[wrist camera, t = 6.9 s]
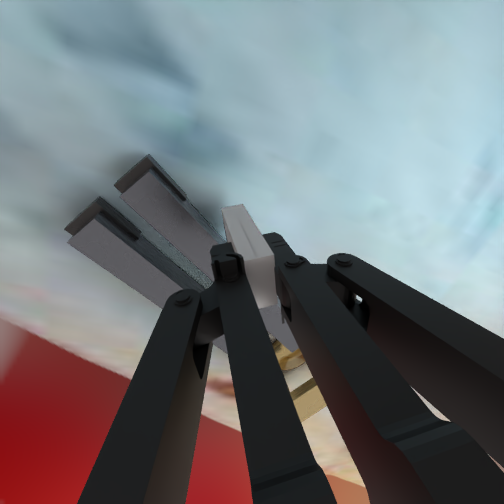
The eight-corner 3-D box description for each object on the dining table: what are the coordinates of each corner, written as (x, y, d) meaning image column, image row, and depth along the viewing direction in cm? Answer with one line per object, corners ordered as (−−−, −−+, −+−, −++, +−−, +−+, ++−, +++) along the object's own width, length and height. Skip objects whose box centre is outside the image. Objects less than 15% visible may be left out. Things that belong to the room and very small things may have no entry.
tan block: (343, 349, 28) (364, 381, 24) (282, 390, 29) (295, 426, 25) (327, 331, 26) (348, 363, 22) (262, 376, 27) (273, 414, 23)
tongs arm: (302, 320, 24) (312, 338, 22) (281, 335, 24) (290, 354, 22) (148, 153, 14) (144, 160, 12) (117, 181, 15) (108, 191, 13)
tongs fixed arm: (313, 345, 27) (325, 366, 25) (275, 372, 27) (283, 394, 25) (133, 165, 15) (125, 176, 13) (72, 220, 15) (55, 238, 13)
